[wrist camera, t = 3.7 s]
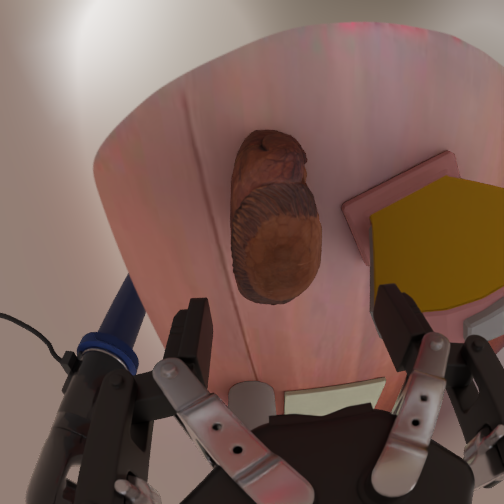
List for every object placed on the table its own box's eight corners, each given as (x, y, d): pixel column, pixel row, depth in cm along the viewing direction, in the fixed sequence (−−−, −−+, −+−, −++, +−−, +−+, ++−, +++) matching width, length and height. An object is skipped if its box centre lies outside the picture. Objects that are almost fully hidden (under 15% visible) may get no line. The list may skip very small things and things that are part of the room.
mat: (283, 420, 57) (284, 424, 56) (284, 391, 51) (285, 395, 51) (371, 407, 57) (372, 411, 56) (385, 376, 51) (386, 380, 50)
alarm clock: (346, 271, 39) (408, 409, 20) (319, 213, 35) (392, 353, 16) (473, 201, 34) (578, 285, 15) (461, 141, 30) (591, 205, 11)
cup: (248, 375, 49) (249, 425, 40) (283, 390, 51) (288, 436, 42) (220, 395, 52) (217, 441, 43) (254, 409, 54) (255, 452, 46)
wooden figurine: (292, 226, 35) (327, 336, 20) (237, 227, 35) (232, 341, 20) (295, 125, 30) (351, 159, 14) (234, 125, 30) (220, 158, 14)
